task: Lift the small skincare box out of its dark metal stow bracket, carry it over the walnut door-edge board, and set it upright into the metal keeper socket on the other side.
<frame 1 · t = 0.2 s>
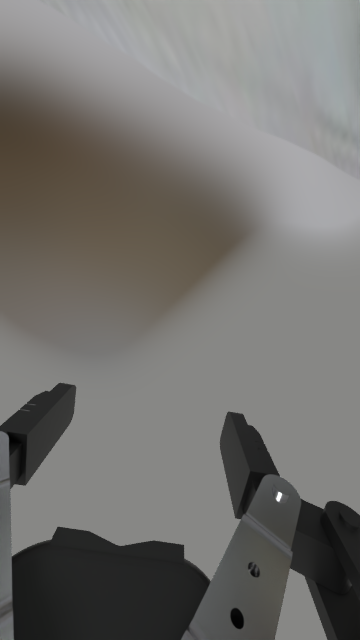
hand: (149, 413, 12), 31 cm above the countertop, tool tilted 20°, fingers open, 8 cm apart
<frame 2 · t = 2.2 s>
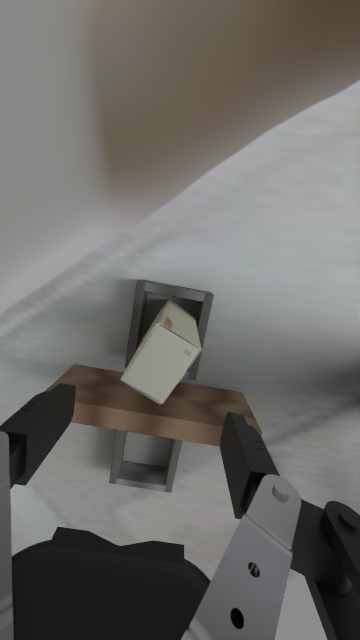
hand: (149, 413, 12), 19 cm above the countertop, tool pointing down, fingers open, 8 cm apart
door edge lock: (158, 386, 32), on the countertop
skincare box: (169, 326, 30), resting in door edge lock
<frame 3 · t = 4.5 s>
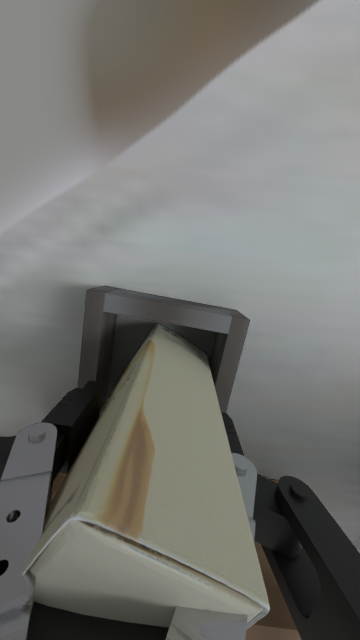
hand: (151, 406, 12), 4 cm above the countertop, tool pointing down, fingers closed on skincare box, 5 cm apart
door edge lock: (140, 471, 18), on the countertop
skincare box: (158, 370, 16), resting in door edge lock, touching gripper
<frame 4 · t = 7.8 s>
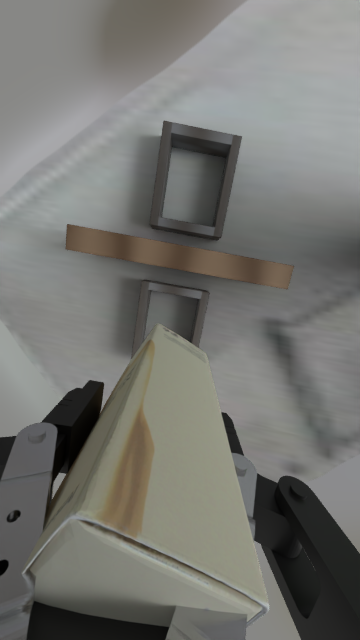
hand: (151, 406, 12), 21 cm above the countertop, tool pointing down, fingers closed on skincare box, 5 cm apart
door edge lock: (180, 260, 31), on the countertop
skincare box: (159, 370, 16), point 17 cm above the countertop, touching gripper
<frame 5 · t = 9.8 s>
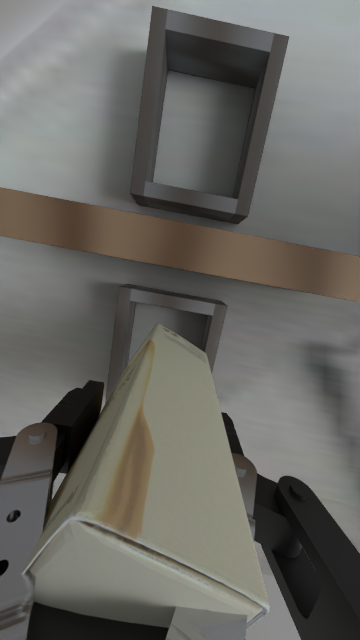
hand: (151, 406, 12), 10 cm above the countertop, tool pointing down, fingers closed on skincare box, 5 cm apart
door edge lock: (181, 255, 20), on the countertop
skincare box: (159, 370, 16), point 6 cm above the countertop, touching gripper
when the fingers open (6 cm above the countertop, at t = 11.6 s): skincare box drops 2 cm, resting in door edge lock.
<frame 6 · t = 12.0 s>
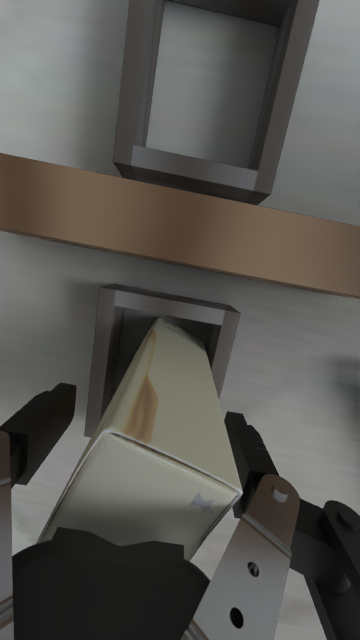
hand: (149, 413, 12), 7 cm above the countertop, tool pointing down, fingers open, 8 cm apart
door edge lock: (181, 247, 16), on the countertop
skincare box: (162, 359, 18), resting in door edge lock
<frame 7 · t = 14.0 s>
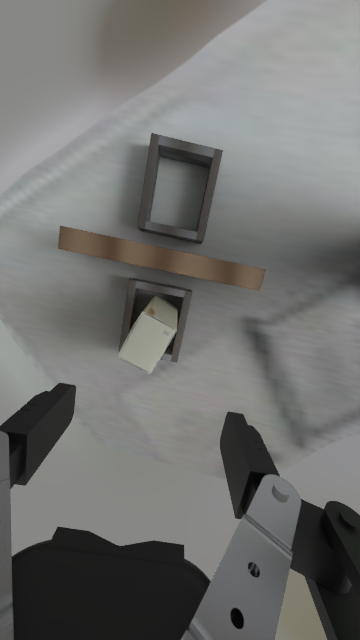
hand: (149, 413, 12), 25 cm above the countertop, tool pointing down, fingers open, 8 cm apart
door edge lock: (166, 261, 34), on the countertop
skincare box: (156, 317, 36), resting in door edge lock
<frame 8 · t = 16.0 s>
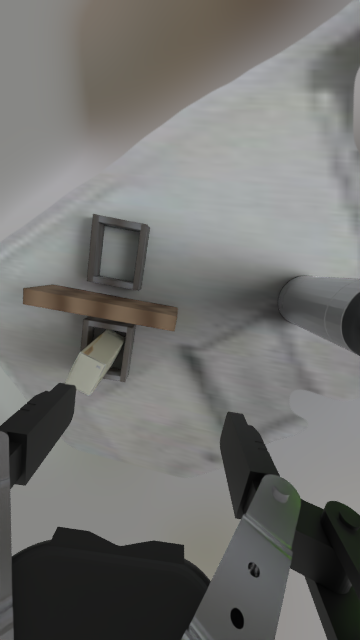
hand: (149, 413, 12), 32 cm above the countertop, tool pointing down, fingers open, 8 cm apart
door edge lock: (115, 302, 43), on the countertop
skincare box: (110, 345, 45), resting in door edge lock
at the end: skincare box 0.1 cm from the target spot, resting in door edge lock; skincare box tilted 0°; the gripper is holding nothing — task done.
